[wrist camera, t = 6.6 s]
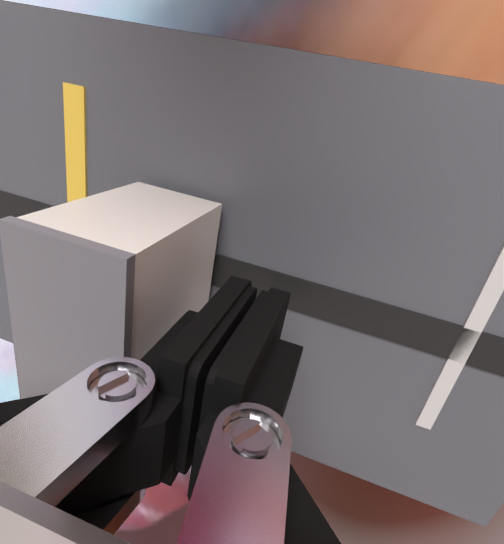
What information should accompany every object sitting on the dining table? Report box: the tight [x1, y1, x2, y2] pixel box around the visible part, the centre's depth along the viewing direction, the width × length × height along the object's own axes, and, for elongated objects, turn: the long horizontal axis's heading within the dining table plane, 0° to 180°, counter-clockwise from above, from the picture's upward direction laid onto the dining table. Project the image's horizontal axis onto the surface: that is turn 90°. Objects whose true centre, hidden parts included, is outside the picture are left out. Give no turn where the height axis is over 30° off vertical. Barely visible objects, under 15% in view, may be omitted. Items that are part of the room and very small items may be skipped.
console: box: [0, 0, 504, 527], centre depth 14 cm, size 23×14×3 cm, turn 79°
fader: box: [0, 182, 222, 399], centre depth 11 cm, size 3×5×5 cm, turn 169°
